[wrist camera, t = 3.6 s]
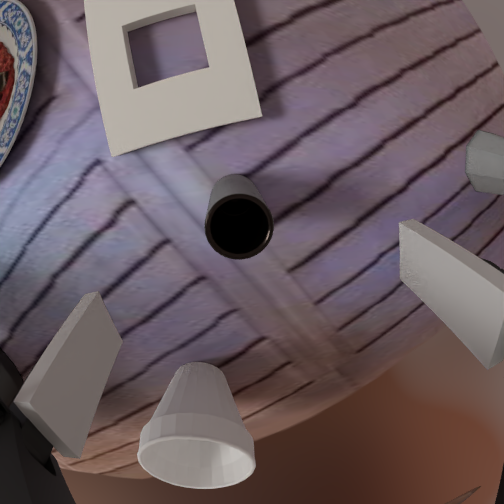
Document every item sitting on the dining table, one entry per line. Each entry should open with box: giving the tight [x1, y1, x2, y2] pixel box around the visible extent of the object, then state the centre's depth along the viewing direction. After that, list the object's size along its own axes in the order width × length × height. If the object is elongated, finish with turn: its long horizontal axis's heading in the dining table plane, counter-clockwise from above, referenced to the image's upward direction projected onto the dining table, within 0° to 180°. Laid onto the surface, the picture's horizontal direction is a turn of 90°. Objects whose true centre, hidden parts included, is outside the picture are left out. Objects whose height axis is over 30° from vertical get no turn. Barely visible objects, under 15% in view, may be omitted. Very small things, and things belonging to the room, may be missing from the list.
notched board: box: [84, 0, 262, 157], centre depth 23 cm, size 18×14×2 cm
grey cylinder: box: [205, 174, 274, 259], centre depth 25 cm, size 4×4×10 cm
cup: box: [137, 362, 256, 489], centre depth 31 cm, size 12×12×14 cm
